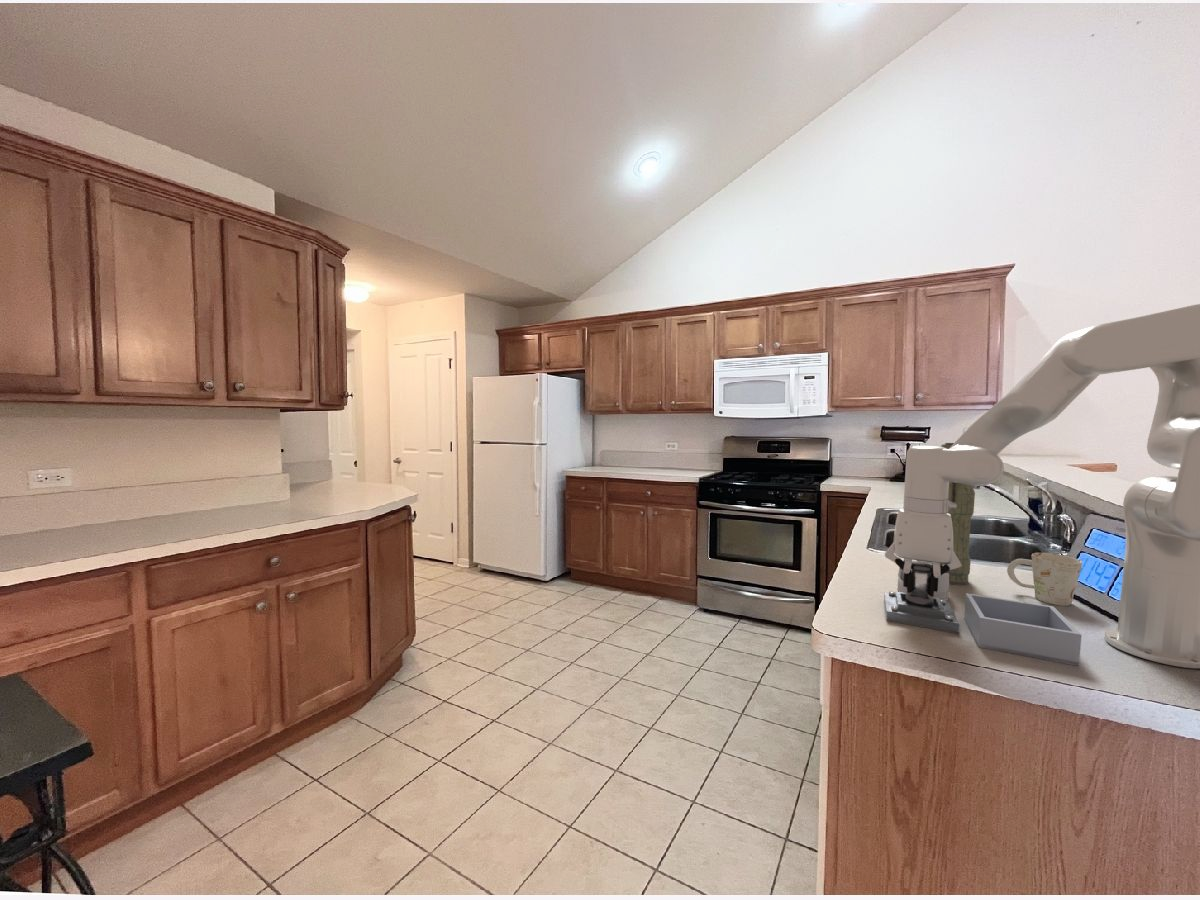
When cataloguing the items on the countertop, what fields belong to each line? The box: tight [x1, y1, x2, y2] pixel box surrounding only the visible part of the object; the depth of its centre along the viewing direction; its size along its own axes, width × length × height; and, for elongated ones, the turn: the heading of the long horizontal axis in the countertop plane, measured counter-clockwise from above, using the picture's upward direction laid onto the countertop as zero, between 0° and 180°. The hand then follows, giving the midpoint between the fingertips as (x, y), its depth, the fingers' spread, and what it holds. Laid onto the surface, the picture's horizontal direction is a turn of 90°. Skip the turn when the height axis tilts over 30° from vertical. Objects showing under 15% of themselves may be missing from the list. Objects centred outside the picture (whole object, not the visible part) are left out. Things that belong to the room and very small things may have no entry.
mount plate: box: [883, 590, 960, 634], centre depth 101 cm, size 12×12×3 cm
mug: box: [1006, 552, 1083, 607], centre depth 111 cm, size 8×13×10 cm, turn 41°
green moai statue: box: [940, 442, 976, 586], centre depth 123 cm, size 9×12×35 cm
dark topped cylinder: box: [905, 562, 933, 608], centre depth 101 cm, size 5×5×9 cm
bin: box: [963, 592, 1082, 667], centre depth 90 cm, size 14×14×6 cm
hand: (919, 591), depth 101 cm, fingers closed on dark topped cylinder, 3 cm apart
